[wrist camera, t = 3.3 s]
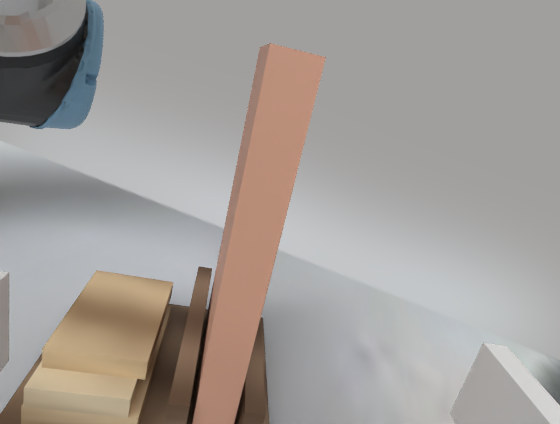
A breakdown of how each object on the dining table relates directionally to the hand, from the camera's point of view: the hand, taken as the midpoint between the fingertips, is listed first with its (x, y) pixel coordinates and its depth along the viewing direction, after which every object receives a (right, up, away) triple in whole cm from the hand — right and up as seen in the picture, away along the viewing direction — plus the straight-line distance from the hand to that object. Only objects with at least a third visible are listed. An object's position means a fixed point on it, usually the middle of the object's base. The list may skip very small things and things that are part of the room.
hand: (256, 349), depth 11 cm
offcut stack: (-10, -5, +14) cm, 18 cm away
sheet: (-4, -7, +15) cm, 17 cm away
